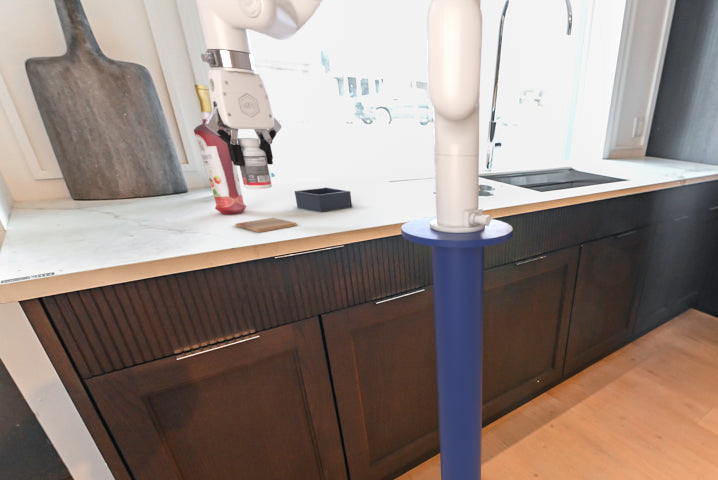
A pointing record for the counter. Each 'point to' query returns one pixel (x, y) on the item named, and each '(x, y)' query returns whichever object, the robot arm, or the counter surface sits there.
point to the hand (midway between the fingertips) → (253, 163)
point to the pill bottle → (254, 165)
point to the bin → (323, 199)
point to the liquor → (218, 161)
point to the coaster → (265, 224)
